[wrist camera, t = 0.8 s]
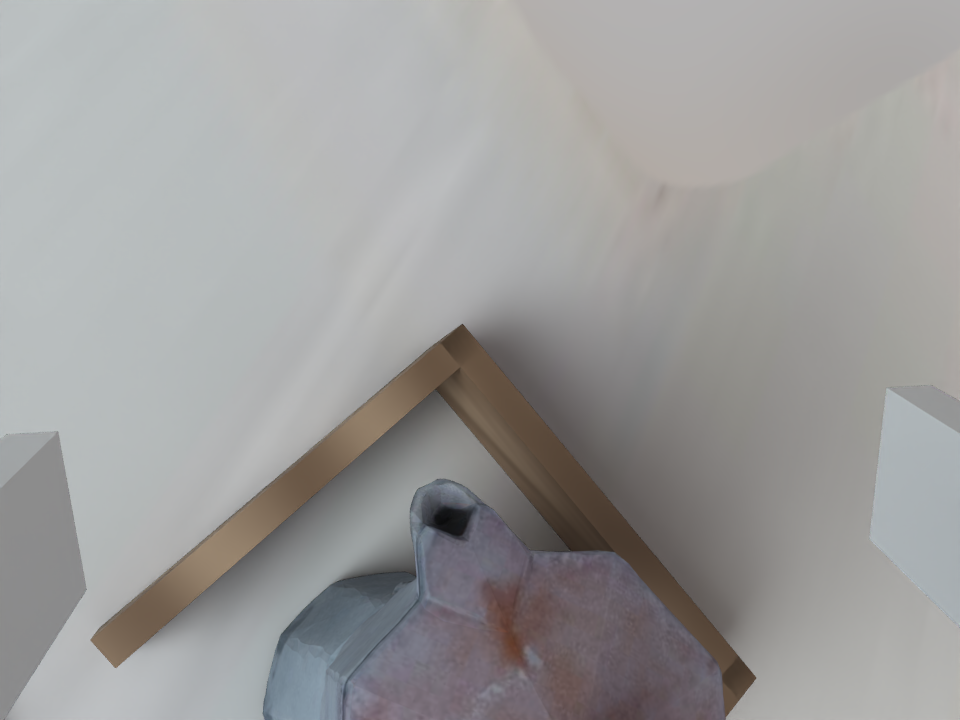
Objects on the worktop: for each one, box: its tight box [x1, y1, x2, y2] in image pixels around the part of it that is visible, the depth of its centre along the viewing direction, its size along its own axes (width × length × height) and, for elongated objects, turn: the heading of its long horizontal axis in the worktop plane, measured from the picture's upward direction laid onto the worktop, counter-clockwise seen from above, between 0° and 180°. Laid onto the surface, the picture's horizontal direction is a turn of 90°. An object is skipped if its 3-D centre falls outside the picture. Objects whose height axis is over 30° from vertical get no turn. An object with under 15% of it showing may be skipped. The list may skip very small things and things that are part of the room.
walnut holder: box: [91, 324, 756, 718], centre depth 34 cm, size 17×18×4 cm
